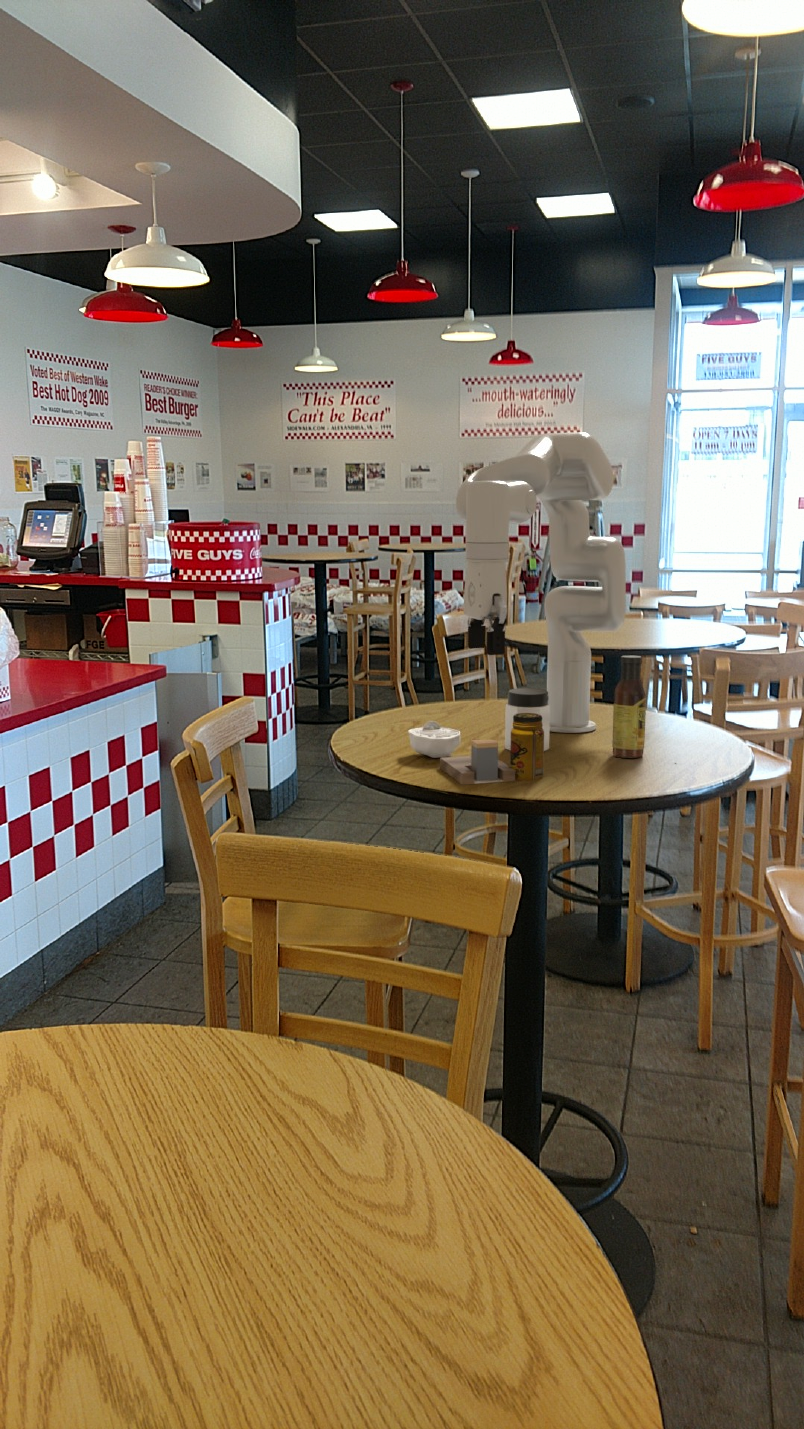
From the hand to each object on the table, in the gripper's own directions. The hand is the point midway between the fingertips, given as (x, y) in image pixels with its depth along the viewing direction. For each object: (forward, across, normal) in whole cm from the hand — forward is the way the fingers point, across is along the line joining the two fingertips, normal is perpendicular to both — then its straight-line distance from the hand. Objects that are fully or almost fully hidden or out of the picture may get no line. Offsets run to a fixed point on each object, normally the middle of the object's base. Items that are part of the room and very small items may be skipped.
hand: (485, 651), depth 188 cm
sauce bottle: (+24, -10, +34) cm, 43 cm away
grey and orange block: (+23, 0, 0) cm, 23 cm away
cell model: (+24, -20, -3) cm, 31 cm away
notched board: (+23, -4, 0) cm, 24 cm away
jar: (+24, -22, +17) cm, 36 cm away
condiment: (+24, 0, +9) cm, 26 cm away
